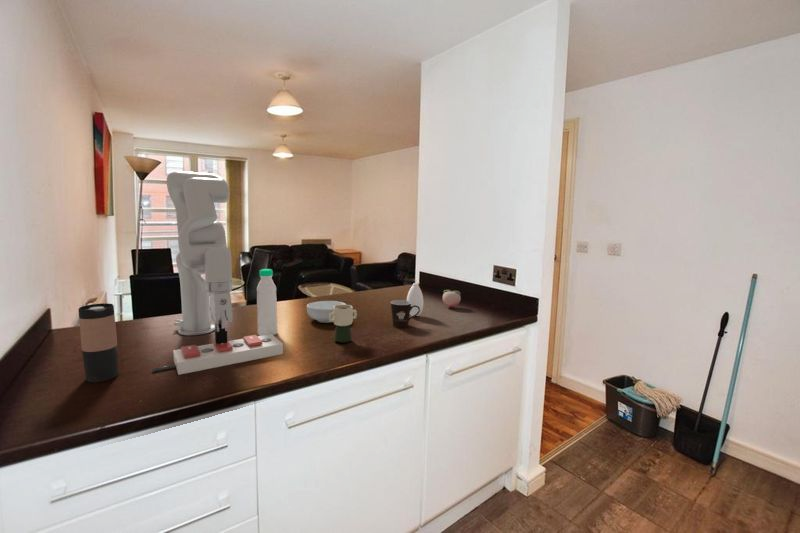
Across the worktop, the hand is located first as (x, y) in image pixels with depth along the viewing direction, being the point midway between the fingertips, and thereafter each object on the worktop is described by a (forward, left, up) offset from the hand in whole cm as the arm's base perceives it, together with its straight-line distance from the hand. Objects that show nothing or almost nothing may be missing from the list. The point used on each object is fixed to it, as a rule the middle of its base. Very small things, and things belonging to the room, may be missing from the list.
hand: (221, 342), depth 121 cm
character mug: (+35, +19, -5) cm, 40 cm away
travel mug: (-24, -19, -5) cm, 31 cm away
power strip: (+1, -2, -5) cm, 5 cm away
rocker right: (+8, +4, -1) cm, 9 cm away
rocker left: (-5, -8, -1) cm, 9 cm away
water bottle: (+5, +23, -5) cm, 24 cm away
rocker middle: (+2, -2, -1) cm, 3 cm away
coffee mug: (+56, +41, -5) cm, 70 cm away
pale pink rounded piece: (+78, +76, -5) cm, 109 cm away
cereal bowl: (+22, +45, -5) cm, 51 cm away
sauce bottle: (+60, +57, -5) cm, 83 cm away
